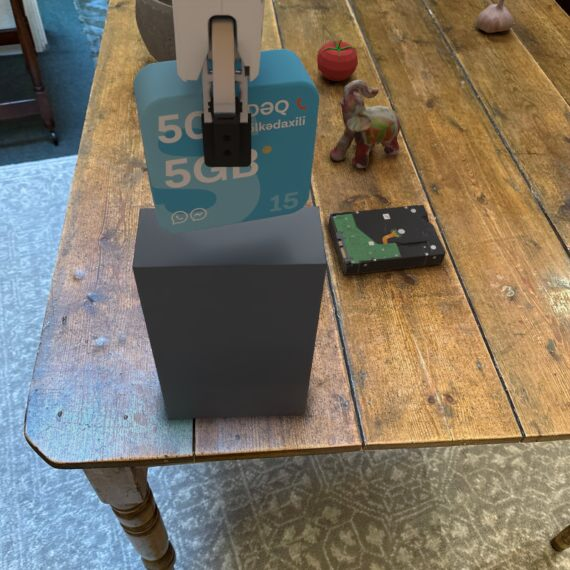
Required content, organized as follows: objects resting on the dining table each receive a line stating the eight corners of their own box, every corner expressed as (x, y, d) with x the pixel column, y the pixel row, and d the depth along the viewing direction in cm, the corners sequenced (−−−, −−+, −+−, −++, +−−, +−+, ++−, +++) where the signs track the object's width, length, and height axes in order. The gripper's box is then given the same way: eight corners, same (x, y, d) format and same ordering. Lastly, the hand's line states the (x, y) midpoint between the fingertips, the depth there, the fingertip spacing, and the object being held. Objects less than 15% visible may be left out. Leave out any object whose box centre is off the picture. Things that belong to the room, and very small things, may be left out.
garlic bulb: (514, 27, 132) (526, -9, 126) (503, 41, 128) (515, 4, 122) (481, 17, 135) (492, -19, 128) (469, 30, 131) (480, -6, 124)
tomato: (356, 89, 114) (362, 51, 108) (315, 87, 114) (319, 49, 108) (354, 66, 119) (359, 29, 113) (315, 64, 119) (318, 27, 113)
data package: (160, 237, 46) (138, 102, 37) (151, 198, 49) (129, 63, 39) (308, 212, 49) (322, 79, 39) (292, 176, 51) (302, 44, 42)
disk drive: (419, 216, 93) (326, 225, 91) (423, 203, 91) (328, 212, 88) (442, 266, 87) (344, 277, 84) (447, 252, 85) (346, 264, 82)
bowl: (156, 30, 125) (146, -46, 113) (255, 39, 124) (256, -37, 113) (130, 87, 112) (117, 7, 100) (242, 97, 111) (241, 18, 99)
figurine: (327, 143, 103) (337, 64, 92) (395, 145, 104) (413, 66, 92) (330, 172, 98) (341, 92, 87) (402, 174, 99) (422, 94, 87)
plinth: (167, 419, 69) (131, 267, 49) (171, 367, 74) (139, 207, 53) (304, 414, 71) (327, 264, 50) (300, 363, 75) (319, 205, 54)
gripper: (153, -214, 35) (181, 71, 49) (120, -106, 24) (168, 221, 38) (283, -208, 35) (273, 72, 49) (308, -100, 24) (287, 219, 38)
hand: (227, 134), depth 43 cm, fingers closed on data package, 5 cm apart
